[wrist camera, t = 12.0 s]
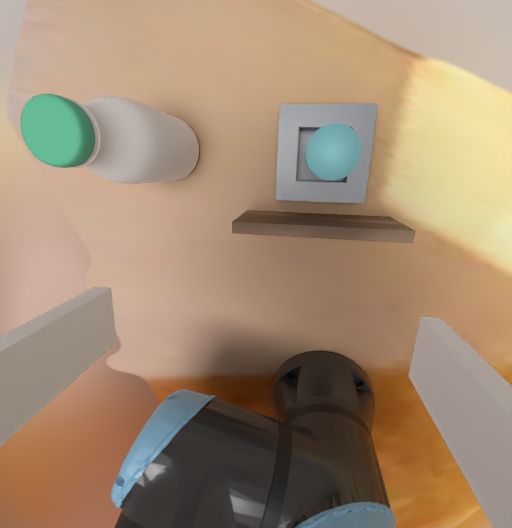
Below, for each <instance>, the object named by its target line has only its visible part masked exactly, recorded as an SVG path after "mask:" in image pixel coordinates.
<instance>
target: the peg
mask: <svg viewBox="0 0 512 528" xmlns="http://www.w3.org/2000/svg"><path fill="white" fill-rule="evenodd" d="M360 156H361V143H360V140H359V137H358V135H357V134H356V132H355V131H354V130H353V129H351V128H350V127H348V126H347V125H344V124H340V123H332V124H328V125H325V126H323V127H321V128H320V129H318V130H317V131H316V132H315V133H314V134H313V135H312V137H311V138H310V140H309V142H308V145H307V149H306V156H305V159H306V163H307V166H308V167H309V169H310V170H311V171H312V172H313V173H314V174H315V175H316V176H317V177H319V178H321V179H324V180H330V181H333V180H339V179H342V178H344V177H346V176H347V175H349V174H350V173H351V172H352V171H353V170H354V169H355V168H356V166H357V164H358V162H359V160H360Z"/></svg>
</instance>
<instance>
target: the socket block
mask: <svg viewBox="0 0 512 528" xmlns="http://www.w3.org/2000/svg"><path fill="white" fill-rule="evenodd" d="M377 107H378V104H280V106H279V129H278V153H277V176H276V199H275V200H285V201H311V202H336V203H362V204H365V197H366V190H367V182H368V175H369V167H370V160H371V152H372V145H373V137H374V130H375V122H376V115H377ZM332 123H340V124H344V125H347V126H348V127H350V128H351V129H353V130H354V131H355V132H356V134H357V135H358V137H359V140H360V143H361V156H360V160H359V162H358V164H357V166H356V168H355V169H354V170H353V171H352V172H351V173H350V174H349V175H347V176H346V177H344V178H342V179H339V180H333V181H330V180H324V179H321V178H319V177H317V176H316V175H315V174H314V173H313V172H312V171H311V170H310V169H309V167H308V166H307V163H306V159H305V156H306V149H307V145H308V142H309V140H310V138H311V137H312V135H313V134H314V133H315V132H316V131H317V130H318V129H320V128H321V127H323V126H325V125H328V124H332Z"/></svg>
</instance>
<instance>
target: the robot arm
mask: <svg viewBox="0 0 512 528" xmlns="http://www.w3.org/2000/svg"><path fill="white" fill-rule="evenodd" d="M115 344H116V333H115V323H114V313H113V303H112V293H111V288H105V287H94V288H92V289H90V290H88V291H86V292H84V293H82V294H80V295H78V296H76V297H75V298H73V299H71V300H69V301H67V302H65V303H63V304H61V305H59V306H57V307H55V308H54V309H52V310H50V311H48V312H46V313H44V314H42V315H40V316H39V317H37V318H34V319H33V320H31V321H29V322H27V323H25V324H23V325H22V326H19V327H17V328H15V329H13V330H12V331H10V332H8V333H6V334H4V335H2V336H0V446H2V445H3V444H4V443H5V442H6V441H7V440H8V439H9V438H10V437H12V436H13V435H14V434H15V433H16V432H17V431H18V430H19V429H21V428H22V427H23V426H24V425H25V424H26V423H27V422H28V421H30V420H31V419H32V418H33V417H34V416H35V415H36V414H37V413H38V412H40V411H41V410H42V409H43V408H44V407H45V406H46V405H47V404H49V403H50V402H51V401H52V400H53V399H54V398H55V397H56V396H58V394H60V393H61V392H62V391H63V390H64V389H65V388H66V387H68V386H69V385H70V384H71V383H72V382H73V381H74V380H75V379H77V378H78V377H79V376H80V375H81V374H82V373H83V372H84V371H86V370H87V369H88V368H89V367H90V366H91V365H92V364H93V363H94V362H96V361H97V360H98V359H99V358H100V357H101V356H102V355H103V354H105V353H106V352H107V351H108V350H109V349H110V348H111V347H112V346H113V345H115ZM408 376H409V378H410V380H411V382H412V384H413V385H414V387H415V389H416V391H417V393H418V394H419V396H420V398H421V400H422V402H423V403H424V405H425V407H426V409H427V411H428V412H429V414H430V416H431V418H432V420H433V421H434V423H435V425H436V427H437V428H438V430H439V432H440V434H441V436H442V437H443V439H444V441H445V443H446V445H447V446H448V448H449V450H450V452H451V454H452V455H453V457H454V459H455V461H456V463H457V464H458V466H459V468H460V470H461V472H462V473H463V475H464V477H465V479H466V481H467V482H468V484H469V486H470V488H471V490H472V491H473V493H474V495H475V497H476V499H477V500H478V502H479V504H480V506H481V507H482V509H483V511H484V513H485V515H486V516H487V518H488V520H489V522H490V524H491V525H492V527H493V528H512V386H511V385H510V384H509V383H508V382H507V381H506V380H505V379H504V378H503V377H502V376H501V375H500V374H499V373H498V372H497V371H496V370H495V369H493V368H492V367H491V366H490V365H489V364H488V363H487V362H486V361H485V360H484V359H483V358H482V357H481V356H480V355H479V354H478V353H477V352H476V351H475V350H474V349H473V348H472V347H471V346H470V345H469V344H468V343H467V342H466V341H465V340H464V339H463V338H462V337H460V336H459V335H458V334H457V333H456V332H455V331H454V330H453V329H452V328H451V327H450V326H449V325H448V324H447V323H446V322H445V321H444V320H443V319H442V318H435V317H424V316H421V318H420V323H419V327H418V332H417V337H416V342H415V347H414V351H413V356H412V361H411V366H410V370H409V375H408ZM271 404H272V409H273V412H274V416H275V419H273V418H270V417H267V416H264V415H262V414H259V413H256V412H253V411H250V410H247V409H244V408H242V407H239V406H236V405H233V404H231V403H228V402H225V401H222V400H220V399H217V396H215V395H211V396H209V395H205V394H202V393H198V392H195V391H191V390H187V389H181V390H178V391H175V392H174V393H172V394H171V395H169V396H168V397H167V398H166V399H165V400H164V401H163V402H162V403H161V404H160V405H159V407H158V408H157V409H156V410H155V412H154V413H153V414H152V416H151V417H150V419H149V420H148V421H147V423H146V424H145V426H144V427H143V429H142V431H141V432H140V434H139V435H138V437H137V439H136V440H135V442H134V444H133V446H132V447H131V449H130V451H129V453H128V454H127V456H126V458H125V460H124V462H123V464H122V466H121V469H120V471H119V475H118V477H117V479H116V481H115V483H114V485H113V488H112V492H111V500H112V501H113V502H114V503H115V506H116V507H117V508H122V512H121V514H120V516H119V519H118V521H117V523H116V525H115V528H396V527H395V525H396V522H395V517H394V514H393V512H392V510H391V508H390V504H389V500H388V497H387V493H386V489H385V485H384V482H383V478H382V474H381V470H380V467H379V463H378V459H377V455H376V452H375V448H374V444H373V441H372V437H371V431H372V424H373V417H374V409H375V400H374V394H373V391H372V388H371V384H370V382H369V379H368V377H367V376H366V374H365V373H364V371H363V370H362V369H361V368H360V367H359V366H358V365H357V364H356V363H354V362H353V361H351V360H350V359H348V358H346V357H344V356H341V355H339V354H335V353H331V352H324V351H313V352H307V353H303V354H300V355H297V356H295V357H293V358H291V359H289V360H288V361H287V362H285V363H284V364H283V365H282V366H281V367H280V369H279V370H278V371H277V373H276V375H275V377H274V380H273V384H272V392H271Z"/></svg>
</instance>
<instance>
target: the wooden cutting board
mask: <svg viewBox="0 0 512 528" xmlns="http://www.w3.org/2000/svg"><path fill="white" fill-rule="evenodd" d="M232 233H238V234H257V235H275V236H293V237H311V238H330V239H348V240H366V241H384V242H403V243H413V240H414V235H415V230H413V229H411V228H409V227H407V226H405V225H404V224H402V223H400V222H398V221H396V220H394V219H393V218H391V217H381V216H358V215H336V214H313V213H290V212H268V211H246V212H245V213H243V214H242V215H241V216H239V217H238V218H237V219H235V220H234V221H233V222H232Z"/></svg>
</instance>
